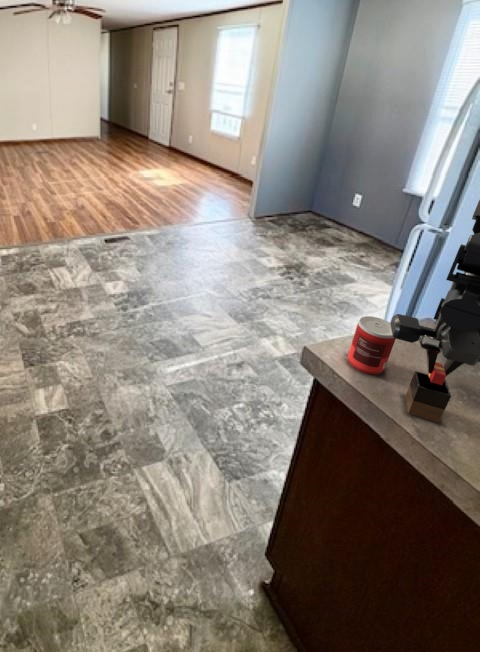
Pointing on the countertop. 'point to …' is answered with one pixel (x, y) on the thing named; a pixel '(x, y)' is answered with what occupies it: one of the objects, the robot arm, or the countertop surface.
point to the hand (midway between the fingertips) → (436, 374)
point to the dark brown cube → (422, 409)
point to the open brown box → (429, 391)
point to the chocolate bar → (438, 374)
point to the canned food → (371, 345)
